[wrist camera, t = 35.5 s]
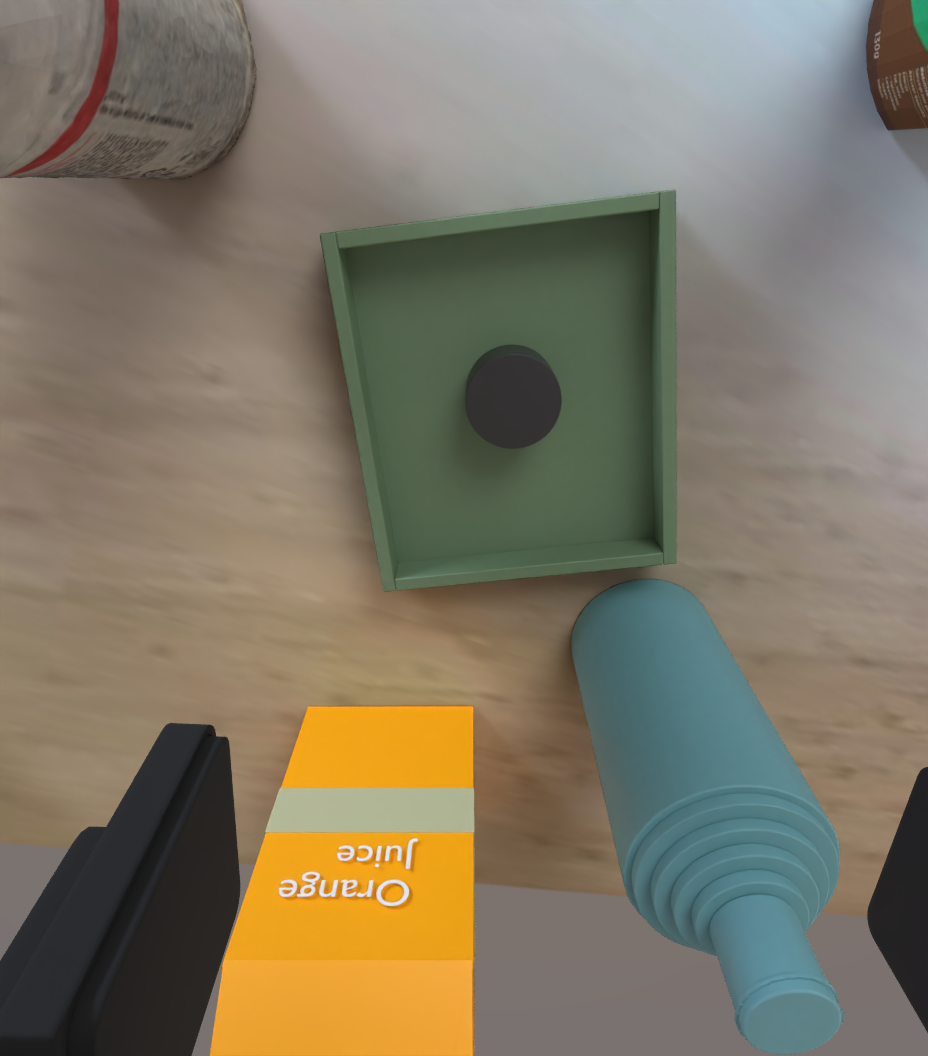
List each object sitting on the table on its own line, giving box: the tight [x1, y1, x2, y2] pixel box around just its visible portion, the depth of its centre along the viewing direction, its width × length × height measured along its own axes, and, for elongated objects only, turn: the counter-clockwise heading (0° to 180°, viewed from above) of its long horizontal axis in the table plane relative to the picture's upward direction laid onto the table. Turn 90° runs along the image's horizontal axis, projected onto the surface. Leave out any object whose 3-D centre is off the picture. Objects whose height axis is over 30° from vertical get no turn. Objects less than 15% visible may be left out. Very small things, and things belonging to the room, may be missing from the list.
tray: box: [320, 190, 677, 592], centre depth 31 cm, size 13×15×2 cm
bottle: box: [571, 579, 844, 1055], centre depth 28 cm, size 7×7×19 cm
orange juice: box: [210, 706, 475, 1056], centre depth 31 cm, size 8×9×20 cm
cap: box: [465, 344, 562, 449], centre depth 30 cm, size 4×4×2 cm
